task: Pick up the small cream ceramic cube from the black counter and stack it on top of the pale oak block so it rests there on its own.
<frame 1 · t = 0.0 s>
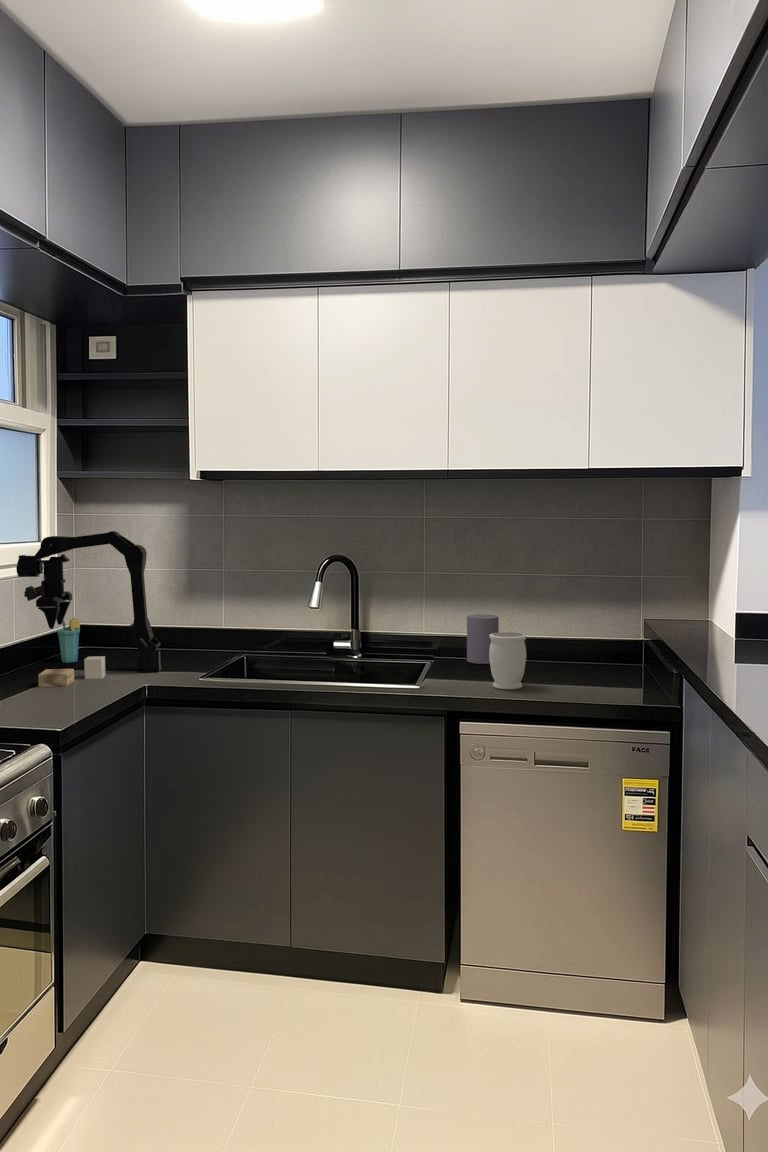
hand: (55, 626, 273), 15 cm above the counter, fingers open, 9 cm apart
ceramic cube: (95, 677, 268), on the counter
oak block: (56, 685, 258), on the counter
jar: (507, 687, 249), on the counter
container: (482, 662, 288), on the counter
cup: (68, 662, 294), on the counter
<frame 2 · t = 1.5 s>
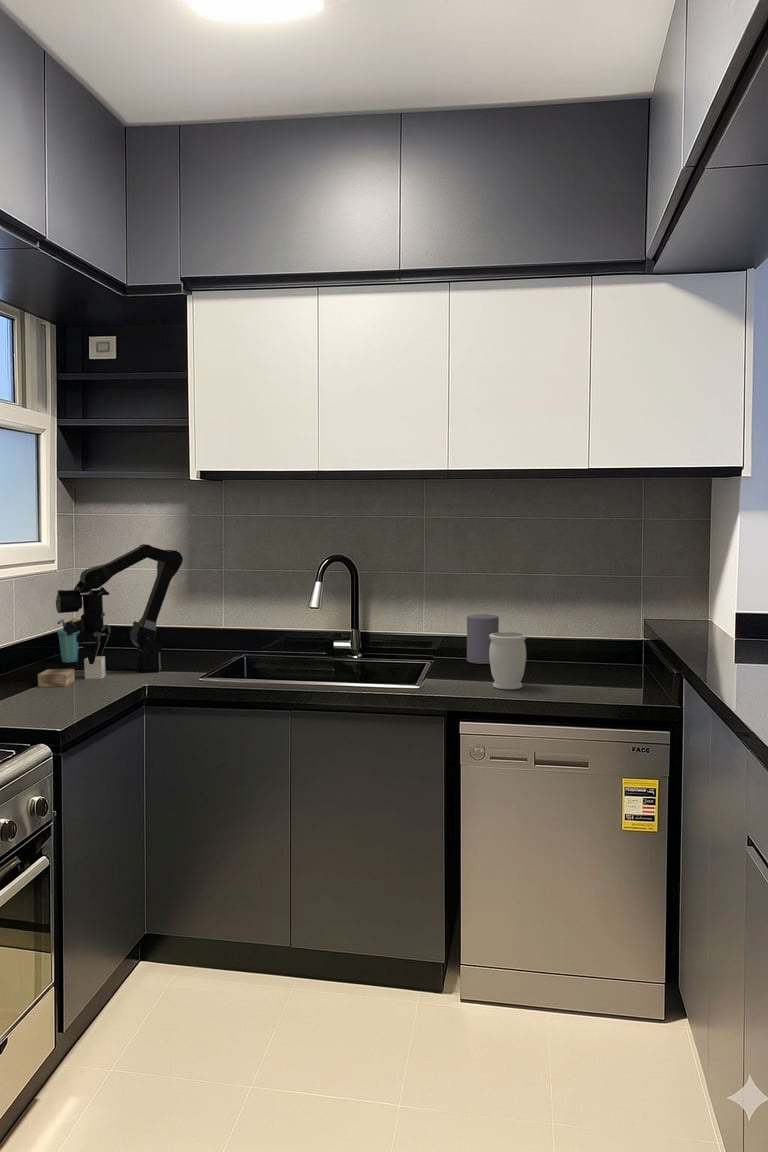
hand: (95, 661, 267), 5 cm above the counter, fingers open, 9 cm apart
nothing on the counter moved.
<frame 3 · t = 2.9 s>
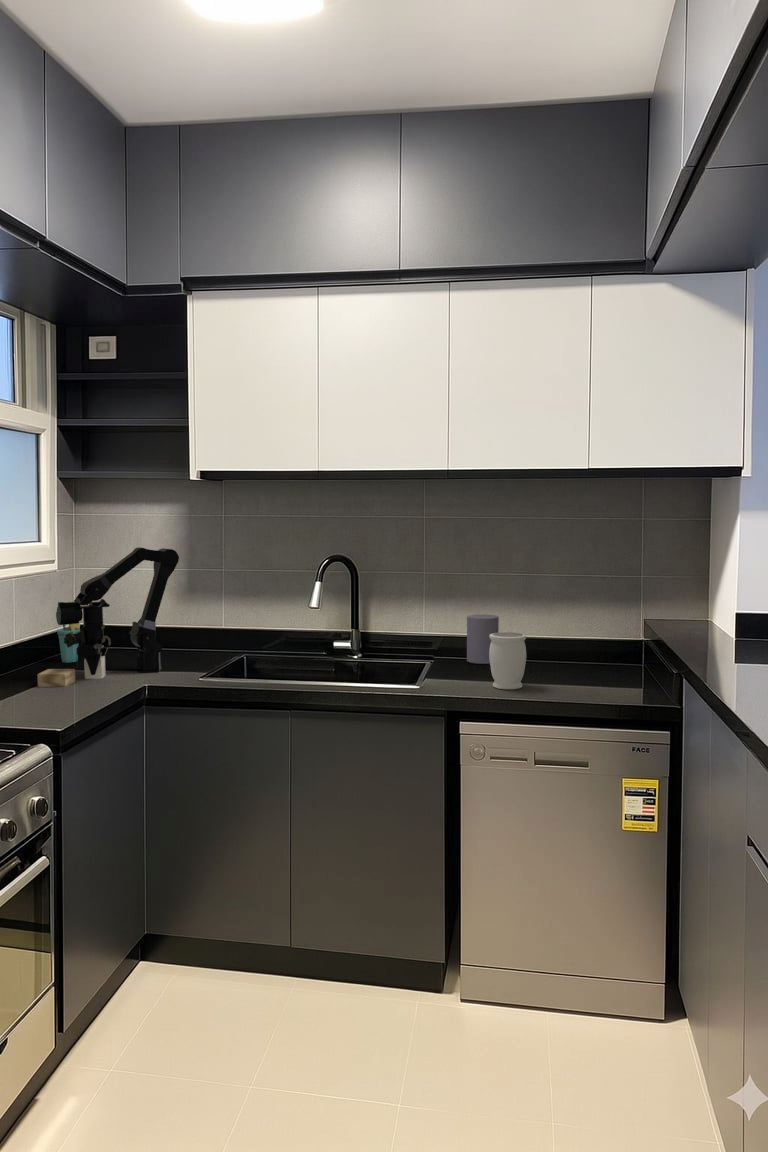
hand: (95, 673, 268), 1 cm above the counter, fingers closed on ceramic cube, 5 cm apart
ceramic cube: (95, 677, 268), on the counter, touching gripper
everything else where it was.
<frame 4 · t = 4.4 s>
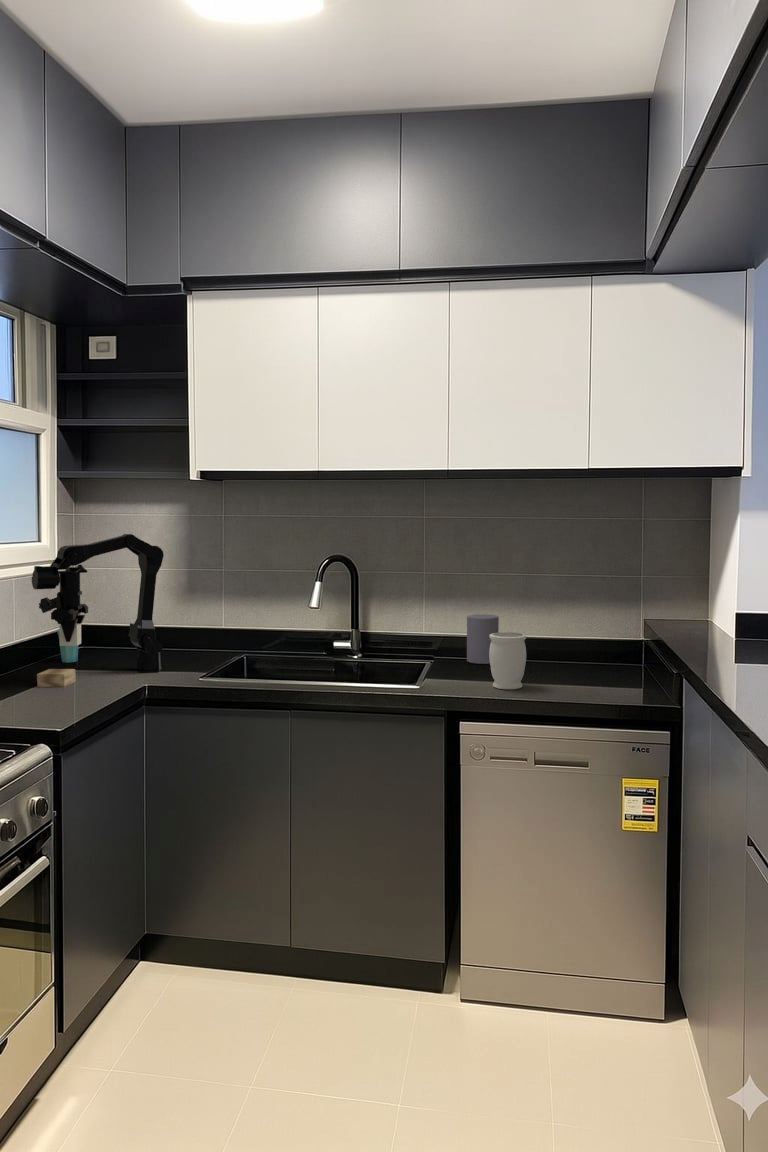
hand: (70, 640, 261), 12 cm above the counter, fingers closed on ceramic cube, 5 cm apart
ceramic cube: (70, 644, 261), point 11 cm above the counter, touching gripper
everything else where it was.
when the fingers open (7 cm above the counter, at t = 6.3 s): ceramic cube drops 2 cm, point 4 cm above the counter.
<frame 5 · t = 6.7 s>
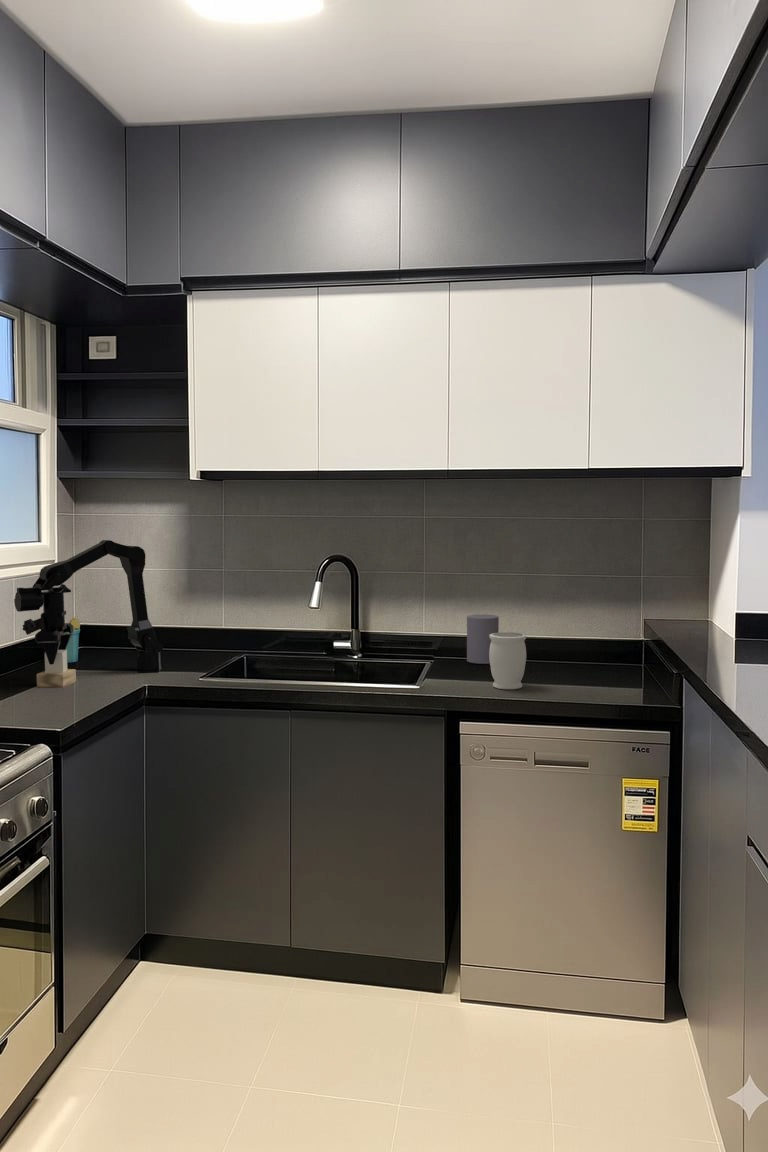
hand: (56, 661, 257), 7 cm above the counter, fingers open, 9 cm apart
ceramic cube: (56, 671, 258), point 4 cm above the counter
everything else where it was.
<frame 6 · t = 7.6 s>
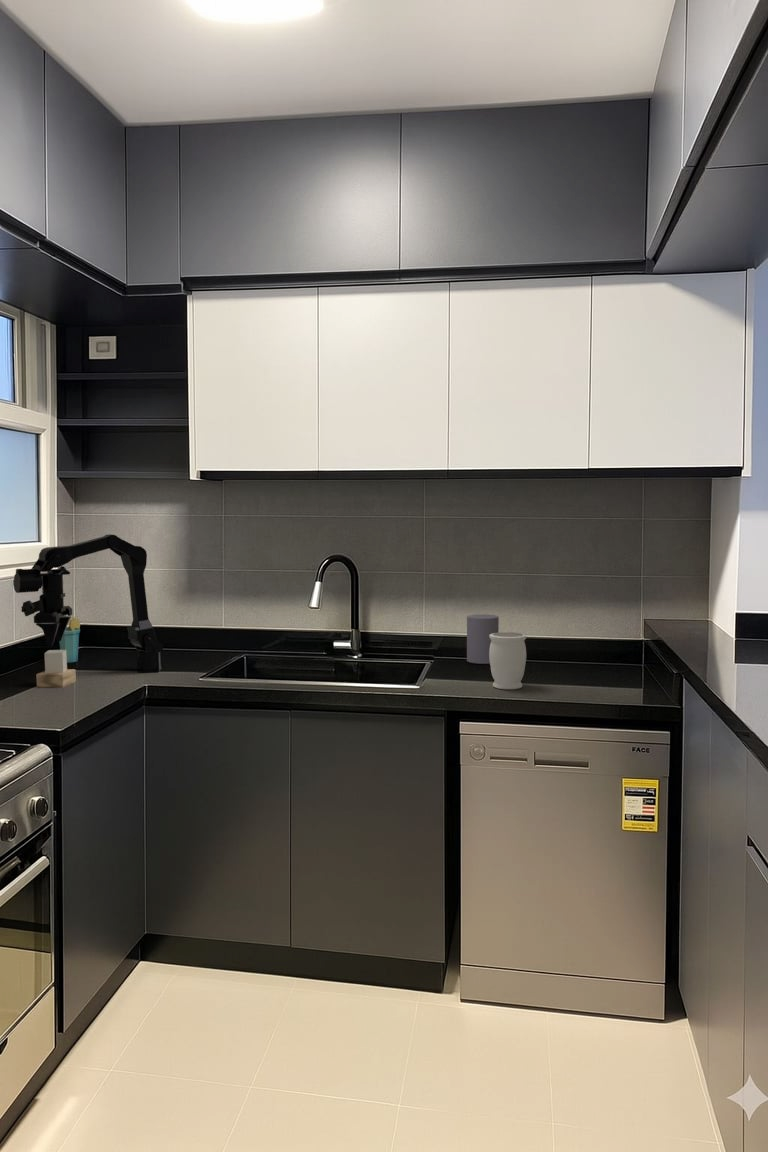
hand: (54, 643, 257), 12 cm above the counter, fingers open, 9 cm apart
ceramic cube: (56, 671, 258), point 4 cm above the counter, touching oak block
oak block: (56, 685, 258), on the counter, touching ceramic cube
everything else where it was.
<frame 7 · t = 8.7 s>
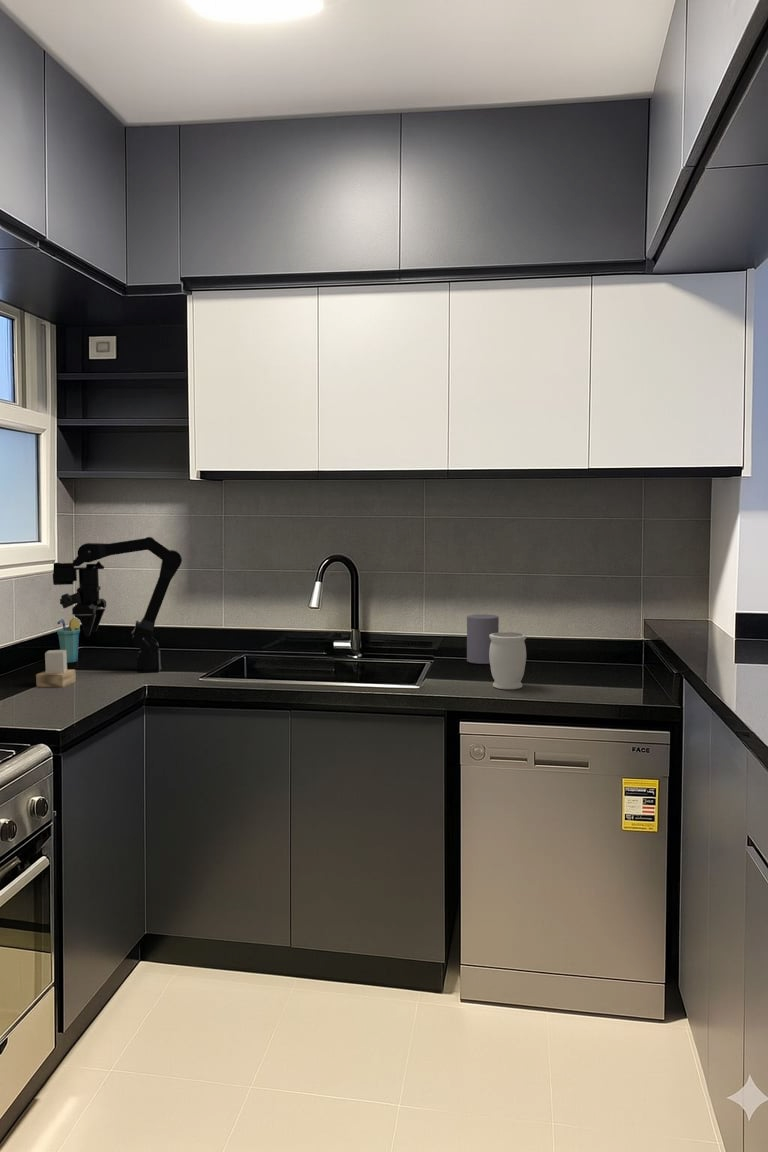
hand: (90, 634, 271), 12 cm above the counter, fingers open, 9 cm apart
nothing on the counter moved.
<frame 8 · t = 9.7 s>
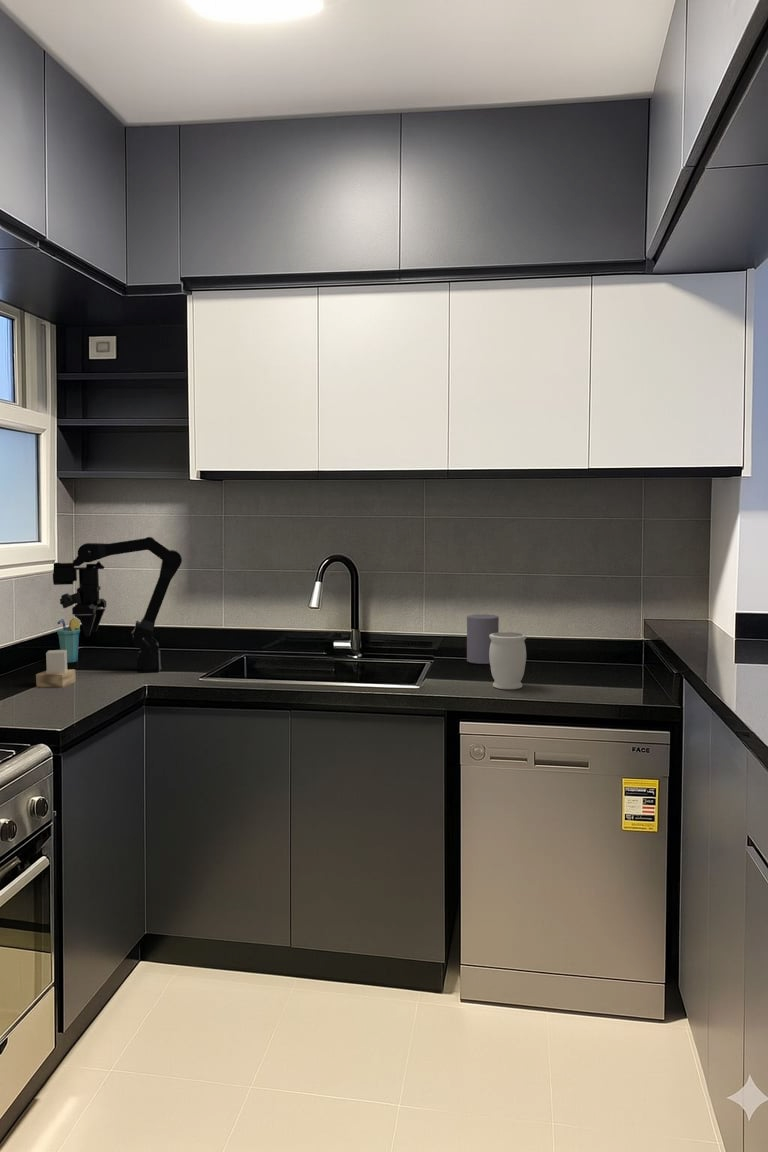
hand: (90, 634, 271), 13 cm above the counter, fingers open, 9 cm apart
nothing on the counter moved.
at the end: ceramic cube 0.3 cm off-centre on the oak block, point 4.0 cm above the oak block's base; ceramic cube tilted 0°; the gripper is holding nothing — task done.
